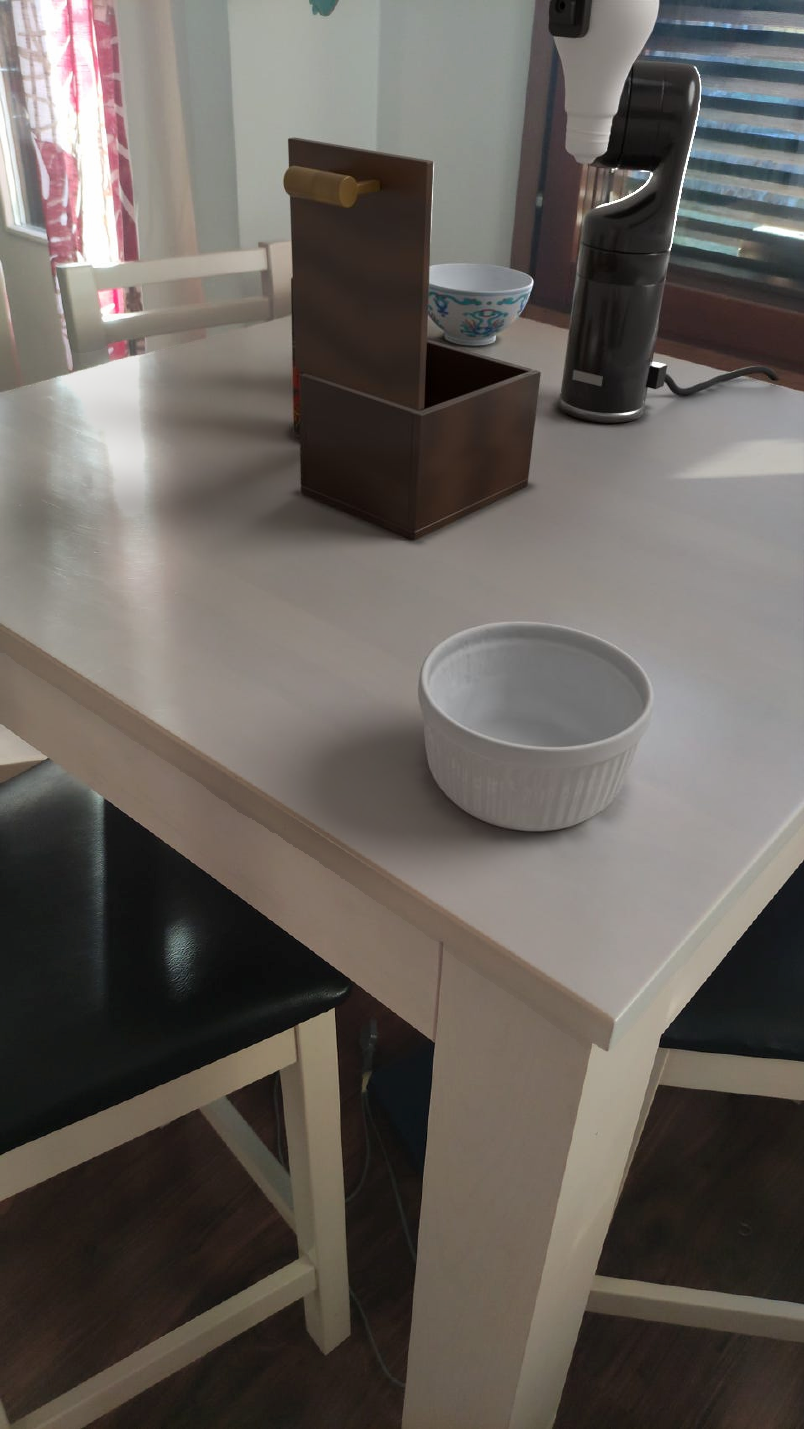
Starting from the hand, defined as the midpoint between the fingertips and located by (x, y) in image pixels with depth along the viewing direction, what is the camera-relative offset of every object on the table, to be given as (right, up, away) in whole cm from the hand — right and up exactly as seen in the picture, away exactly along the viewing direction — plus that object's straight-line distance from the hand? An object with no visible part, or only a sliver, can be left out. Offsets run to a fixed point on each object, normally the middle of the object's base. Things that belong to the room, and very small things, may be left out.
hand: (600, 34), depth 60 cm
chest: (-10, -18, +37) cm, 43 cm away
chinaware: (-2, +10, +79) cm, 79 cm away
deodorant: (-20, -10, +48) cm, 53 cm away
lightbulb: (0, -5, +4) cm, 7 cm away
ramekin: (-4, -43, +3) cm, 43 cm away
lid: (-14, -5, +21) cm, 26 cm away
